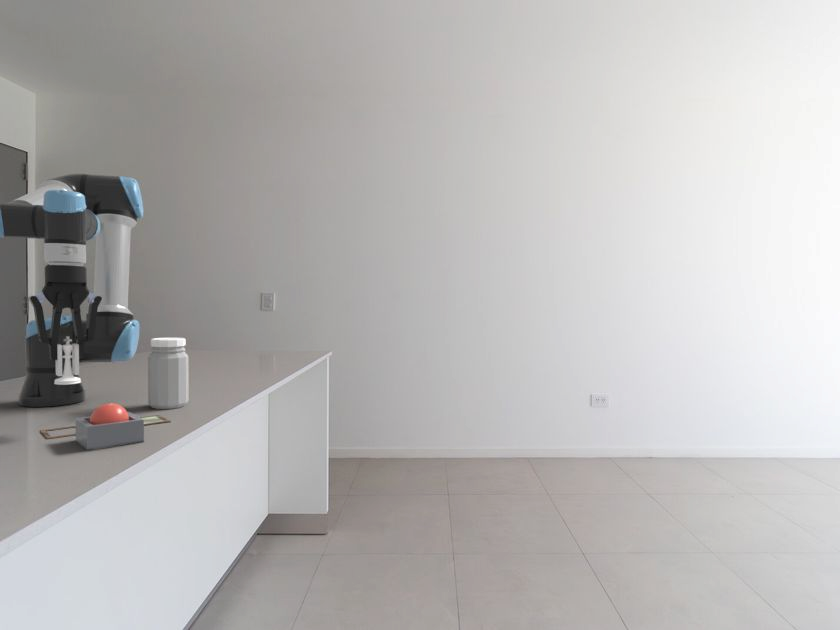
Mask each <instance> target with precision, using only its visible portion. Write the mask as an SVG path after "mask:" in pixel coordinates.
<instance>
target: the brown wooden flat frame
mask: <svg viewBox="0 0 840 630" xmlns="http://www.w3.org/2000/svg"><path fill="white" fill-rule="evenodd" d="M139 417H140V416H139ZM140 418H141V419H143V420H144V427H146V426H151V425H152V424H153V425H159V424H166V423H171V420H169V419H167V418H166V417H163V416H162V415H159V414H155V415H148V416H141V417H140ZM71 428H76V425H71V426H69V425H68V426H64V427H55V428H47V429H46V428H45V429H40V430H39V432H40V433H41V434H42V435H43V436H44V438H46V439H47V440H50V439H51V440H52V439H57V438H65V437H72V436H76V432H75V433H69V434H62V435H55V436H54V435H53V436H51V435H50V434H49V433H48V432H47V431H49V432H51V431H59V430H65V429H71Z"/></svg>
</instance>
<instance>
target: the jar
mask: <svg viewBox="0 0 840 630" xmlns="http://www.w3.org/2000/svg"><path fill="white" fill-rule="evenodd" d="M186 342H187V341H186V338H184V337H156V338H155V337H154V338H151V339H150V346H151V347H152V349H150V352H151V353H150V354H149V355H148V356H147V389H148V390H147V396H148V397H147V403H148V405H149V406H150V407H151V408H152V409H154V408H155V410H171V409H179V408H183V407H184V406H186V405H187V403H188V402H189V396H190V395H189V394H190V393H189V391H190V389H189V387H190V385H189V383H190V381H189V380H190V379H189V378H190V377H189V355H188V354H187V353H186V351H187V350H186V348H185V347H186V345H187V344H186Z"/></svg>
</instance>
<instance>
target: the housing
mask: <svg viewBox="0 0 840 630" xmlns="http://www.w3.org/2000/svg"><path fill="white" fill-rule="evenodd" d="M127 413H128V415H129V421H121V422H114V423H106V424H98V425H92V424H90V423H89V421H90V417H91V415H90V416H84V417H83V416H82V417H77V418H74V419H75V421H74V422H75V426H76V427H75V433H76V435H75V441H76V442H77V443H78V444H79V445H80V446H81V447H83V449H85V450H86V451H87V452H90V451H94V450H95V451H96V450H100V449H101V450H102V449H108V448H114V447H121V446H126V445H132V444H133V445H134V444H139V443H145V426H144V420H143V419H141V418H140V416H138V415H136V414H134V413H132V412H131V411H127Z"/></svg>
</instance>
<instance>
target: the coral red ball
mask: <svg viewBox="0 0 840 630" xmlns="http://www.w3.org/2000/svg"><path fill="white" fill-rule="evenodd" d="M127 412H128V411H127V409H125V408H124V407H123V406H122V405H120V404H119V403H118V404H117V403H105V404H101V405H99V406H98V407H97V408H95V409H94V411H92V413H91V415H90V416H91V417H90V416H89V417H90V421H89V423H90V424H92V425H98V424H106V423H114V422H121V421H129V415H128V413H127Z"/></svg>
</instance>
